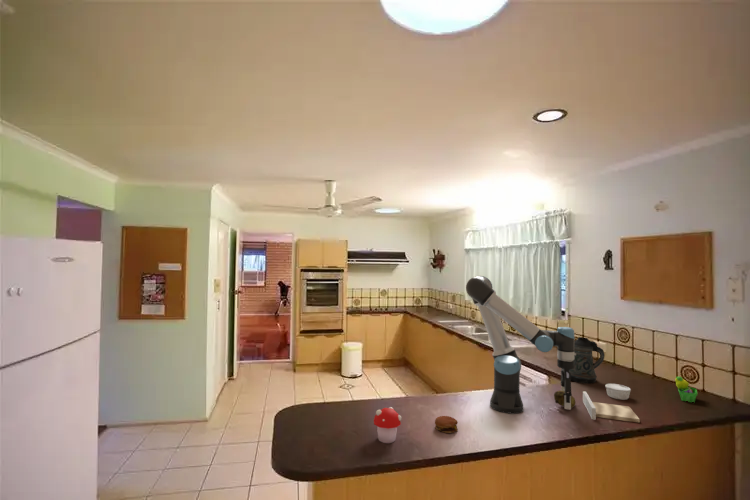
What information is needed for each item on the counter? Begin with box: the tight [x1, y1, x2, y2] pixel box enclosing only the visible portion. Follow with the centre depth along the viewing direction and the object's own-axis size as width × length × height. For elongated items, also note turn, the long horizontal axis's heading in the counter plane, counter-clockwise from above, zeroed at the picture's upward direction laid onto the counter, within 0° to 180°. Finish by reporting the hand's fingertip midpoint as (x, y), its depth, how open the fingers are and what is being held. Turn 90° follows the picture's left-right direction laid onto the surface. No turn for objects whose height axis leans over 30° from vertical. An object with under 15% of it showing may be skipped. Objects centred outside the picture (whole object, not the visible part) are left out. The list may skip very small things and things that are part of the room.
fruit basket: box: [674, 376, 698, 403], centre depth 200 cm, size 11×9×11 cm
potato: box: [553, 390, 577, 409], centre depth 186 cm, size 8×13×8 cm, turn 105°
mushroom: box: [373, 406, 402, 444], centre depth 149 cm, size 11×11×12 cm
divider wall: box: [582, 391, 597, 421], centre depth 183 cm, size 2×24×5 cm, turn 160°
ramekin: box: [604, 383, 632, 401], centre depth 202 cm, size 11×11×5 cm
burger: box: [434, 415, 459, 434], centre depth 159 cm, size 10×9×5 cm
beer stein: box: [569, 336, 605, 384], centre depth 232 cm, size 16×19×25 cm
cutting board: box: [592, 401, 641, 423], centre depth 179 cm, size 17×16×2 cm
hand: (565, 404), depth 186 cm, fingers closed on potato, 12 cm apart
